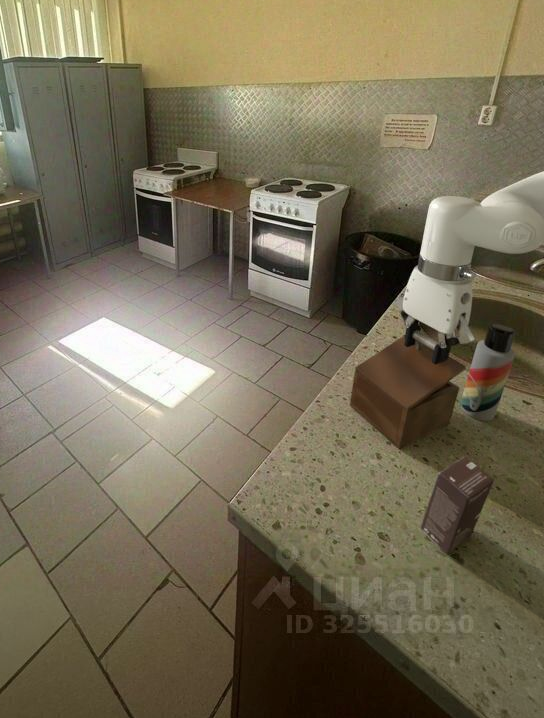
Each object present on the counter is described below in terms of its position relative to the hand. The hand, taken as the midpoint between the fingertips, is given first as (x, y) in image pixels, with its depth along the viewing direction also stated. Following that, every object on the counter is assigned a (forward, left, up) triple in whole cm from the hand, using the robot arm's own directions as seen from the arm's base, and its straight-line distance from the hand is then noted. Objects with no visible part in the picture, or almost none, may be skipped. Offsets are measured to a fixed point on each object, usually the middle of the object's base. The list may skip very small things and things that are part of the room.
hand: (424, 352), depth 76 cm
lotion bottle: (-11, +6, -14) cm, 19 cm away
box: (+17, +19, -14) cm, 29 cm away
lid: (+4, 0, -3) cm, 5 cm away
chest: (+4, 0, -14) cm, 14 cm away
